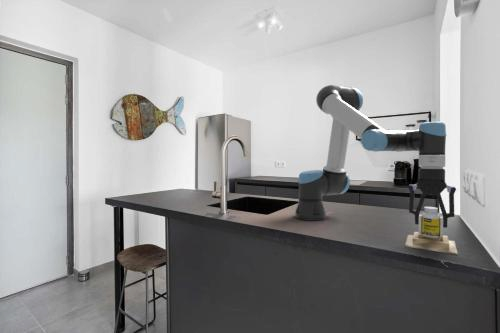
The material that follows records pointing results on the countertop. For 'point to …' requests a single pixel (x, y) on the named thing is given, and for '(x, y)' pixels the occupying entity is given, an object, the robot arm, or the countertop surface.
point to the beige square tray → (431, 243)
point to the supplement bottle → (430, 222)
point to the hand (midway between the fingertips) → (430, 235)
